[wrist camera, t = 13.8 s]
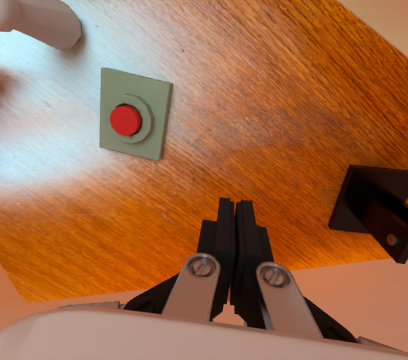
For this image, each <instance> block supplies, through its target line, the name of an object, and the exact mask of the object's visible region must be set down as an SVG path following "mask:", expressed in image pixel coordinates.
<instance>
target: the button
mask: <svg viewBox="0 0 408 360" xmlns="http://www.w3.org/2000/svg"><path fill="white" fill-rule="evenodd" d="M110 123H111V126H112V128H113V129H114V130H115V131H116V132H117V133H118V134H120V135H124V136H128V135H131V134H133V133H135V132H136V131H138V130H139V128H140V127H141V123H142V120H141V116H140V114H139V112H138V111H137V110H136V109H135V108H134V107H132V106H128V105H124V106H121V107H117V108H115V109H114V110H113V111H112V112H111V115H110Z"/></svg>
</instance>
